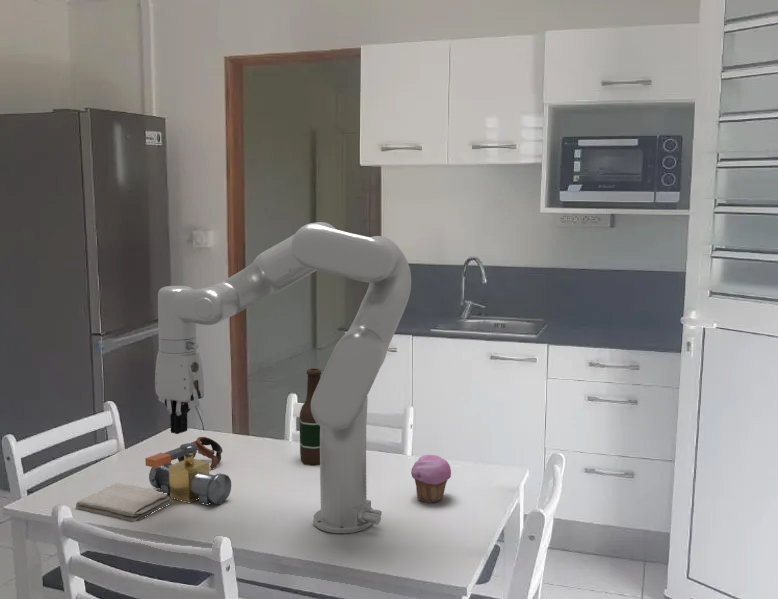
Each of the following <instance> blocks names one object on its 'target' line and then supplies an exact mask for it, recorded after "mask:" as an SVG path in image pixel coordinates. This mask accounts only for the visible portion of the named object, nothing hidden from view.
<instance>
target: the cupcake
mask: <svg viewBox="0 0 778 599" xmlns="http://www.w3.org/2000/svg"><path fill="white" fill-rule="evenodd" d="M410 474H411V477H412V479H414V483H415V489H416V496H417V499H418V500H419V501H422V502H427V503H436V502H438V501H439V500H441V499H443V498H444V495H445V490H446V485H447V482H448V480H449V479H450V478H451V476H452V470H451V466H450V463H449V462H448V461H447V460H446V459H444V458H442V457H441V456H439V455H434V454H424V455H422V456H420V457H419V458H418V459H417V460H416V461H415V462H414V464H413V465H412V468H411V471H410Z"/></svg>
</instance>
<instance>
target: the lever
mask: <svg viewBox="0 0 778 599" xmlns="http://www.w3.org/2000/svg"><path fill="white" fill-rule="evenodd" d="M195 453H196V454H197V453H198V450H197V445H196V444H194V443H192V442H190V443H189V442H187V443H183V444H181V445H180V446H179V447H177V448H174V449H172V450H168V451H166V452H159V453H156V454H154V455H153V454H152V455H150V456H148V457H146V458H145V459H144V460H145V466H147V467H150V468H152V467H153V468H157V467H159V466H162V465H165V464H167V463H170V462H171V463H172V461H175V460H176V459H177V460H178V458H180V457H182V456H185V455H192V454H195Z"/></svg>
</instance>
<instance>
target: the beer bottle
mask: <svg viewBox="0 0 778 599" xmlns="http://www.w3.org/2000/svg"><path fill="white" fill-rule="evenodd" d="M306 374H307V380H306V381H307V385H306V398H305V401H304V402H303V404H302V406H301V408H300V411H299V454H300V455H299V458H300V460H301V462H302V463H303V464H304V465H307V464H308V466H320V426H319V425H318V424H317V422H316V421H315V420H314V418H313V415H312V412H311V400H312V396H313V394H314V392H315V389H316V387H317V385H318V383H319V381H320V378H321V375H322V371H321V369H320V368H315V367H314V368H309V369H307V371H306Z"/></svg>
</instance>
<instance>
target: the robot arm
mask: <svg viewBox="0 0 778 599" xmlns="http://www.w3.org/2000/svg"><path fill="white" fill-rule="evenodd" d="M317 271H319V272H322V273H327V274H330V275H334V276H339V277H341V278H347V279H351V280H353V281H358V282H362V283H363V282H364V283H369V284H368V288H367V290H366V293H365V295H364V297H363V299H362V300H361V303H360V306H359V309H358V311H357V313H356V315H355V317H354V320H353V321H352V323H351V325H350V327H349V328H348V329H347V331H346V332H345V333H344V334H343V335H342V337H341V338H340V339H339V340H338V341H337V343H336V345H335V346H334V348H333V350H332V353H331V355H330V357H329V359H328V361H327V364H326V365H325V368H324V370H323V372H322V373H321V375H320V381H319V383H318V385H317V387H316V389H315V392H314V394H313V396H312V400H311V412H312V415H313V418H314V420H315V421H316V422H317V424H318V425H319V426H320V465H319V475H320V476H319V477H320V478H319V479H320V481H319V482H320V483H319V484H320V489H319V492H320V509H319V510H317V511H316V512H315V513H314V515H313V516H312V517H313V525H314V526H315V527H316V528H317V529H319V530H320V531H323V532H327V533H332V534H351V533H357V532H360V531H364V530H366V529H368V528H370V527H371V526H372V525H373V524H374V525H379V524H380V523H381V519H382V512H383V511H382V510H380V509H374V508H373V507H372V500H370V499H367V498H368V497H367V421H368V420H367V419H368V418H367V417H368V402H369V401H368V398H369V397H368V395H369V393H370V391H371V388H372V387H373V384H374V382H375V380H376V378H377V376H378V373H379V371H380V369H381V367H382V366H383V364H384V362H385V360H386V357H387V354H388V349H389V348H390V347H389V346H390V344H391V343H392V342H391V341H392V339H393V338H394V335H395V333H396V332H397V331H396V330H397V329H398V326H399V325H400V321H401V319H402V317H403V314H404V312H405V310H406V307H407V304H408V301H409V299H410V295H411V290H412V273H411V267H410V265H409V262H408V260H407V258H406V256H405V254H404V252H403V251H402V249H400V247H399V246H398V244H396V243H395V242H394V240H391V239H390V238H388V237H386V236H381V235H374V236H371V237H370V236H366V235H365V236H364V235H361V234H356V233H351V232H347V231H344V230H340V229H336V227H334V226H333V225H332V224H330V223H328V222H324V221H319V222H318V221H317V222H311V223H307V224H305V225H303V226H300V228H299V229H298V230H297V231H296V232H295V233H294V234H293V235H291V236H290V237H287V238H286V239H284V240H283V241H280V242H279V243H277V244H275V245H273V246H272V247H270V248H268V249H266V250H265V251H263V252H261V253H259V254H258V255H257V256H256V257H255V258H254V260H253V262H252V263H250V264H249V265H248V266H246V267H245V268H243V269H241V270H240V271H239V272H237V273H235V274H233V275H231V276H230V277H228V278H225V279H224V280H222V281H220V282H219V283H217V284H216V283H215V284H212V285H210V286H207V287H203V288H197V289H194V288H193V287H191V286H187V285H186V286H185V285H168V286H163V287H161V288H160V289H159V290H158V292H157V320H158V322H157V324H158V326H157V327H158V351H157V355H156V361H155V370H154V372H155V373H154V374H155V376H154V383H155V384H154V389H155V394H156V396H158V398H157V399H158V401H159V402H161V403H163V404H165V406H166V408H167V413H168V414H169V415H170V416H169V417H170V433H171V434H175V435H179V434H182V433H186V432H188V414H189V413H190V411H191V409H196V408H199V407H200V401H199V399H203V398H204V396H205V386H204V384H205V383H204V382H205V381H204V372H203V365H202V360H201V356H200V353H199V352H197V350H198V348H199V344H198V343H197V324H198V325H205V326H212V325H215V324H219V323H221V322H222V321H225V320H226V319H227V320H228V319H229V318H231V317H233V316H235V315H237V314H238V313H240V312H242V311H244V310H245V309H248V308H249V307H251V306H252V305H254V304H256V303H257V302H259V301H261V300H264V299H265V298H267V297H269V296H271V295H274V294H277V293H279V292H281V291H282V290H285V289H287V288H289V287H290V286H291V285H293V284H296V283H297V282H299V281H301V280H302V279H304V278H306V277H307V276H310V275H312V274H313V273H315V272H317Z"/></svg>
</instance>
